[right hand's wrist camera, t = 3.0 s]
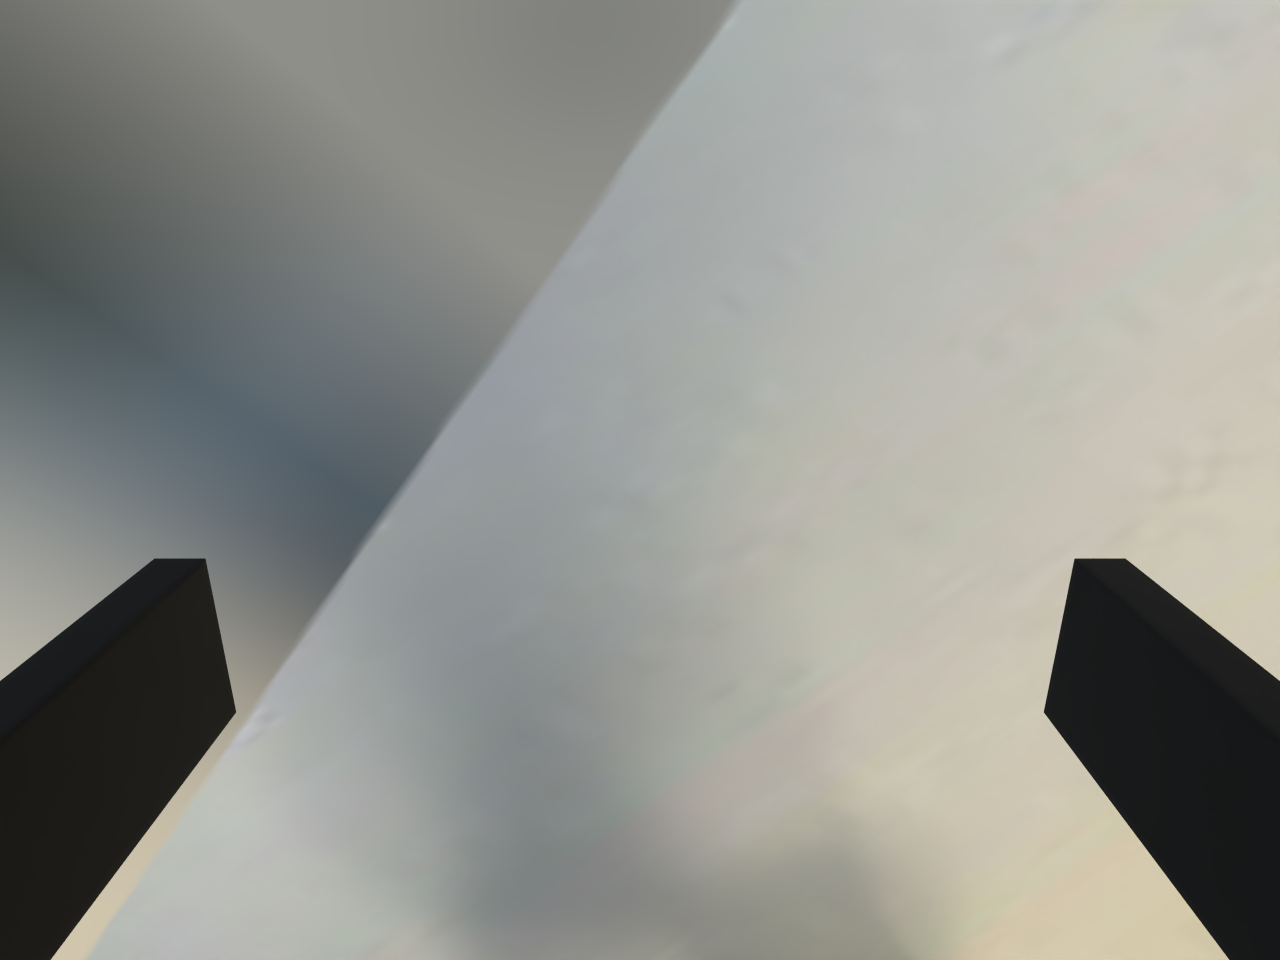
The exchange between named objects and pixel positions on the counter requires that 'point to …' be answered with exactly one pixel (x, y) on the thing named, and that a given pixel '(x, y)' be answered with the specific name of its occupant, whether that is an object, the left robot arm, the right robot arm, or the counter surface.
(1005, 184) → the counter surface
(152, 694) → the right robot arm
